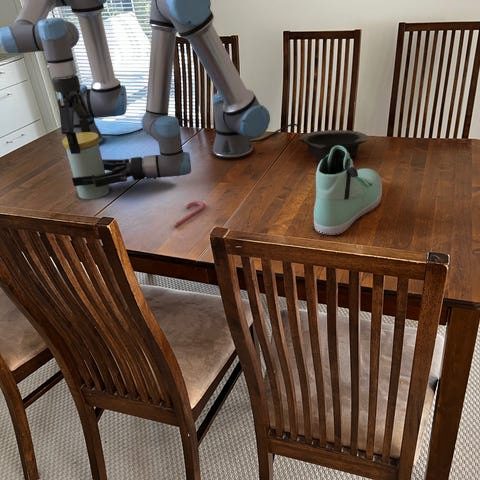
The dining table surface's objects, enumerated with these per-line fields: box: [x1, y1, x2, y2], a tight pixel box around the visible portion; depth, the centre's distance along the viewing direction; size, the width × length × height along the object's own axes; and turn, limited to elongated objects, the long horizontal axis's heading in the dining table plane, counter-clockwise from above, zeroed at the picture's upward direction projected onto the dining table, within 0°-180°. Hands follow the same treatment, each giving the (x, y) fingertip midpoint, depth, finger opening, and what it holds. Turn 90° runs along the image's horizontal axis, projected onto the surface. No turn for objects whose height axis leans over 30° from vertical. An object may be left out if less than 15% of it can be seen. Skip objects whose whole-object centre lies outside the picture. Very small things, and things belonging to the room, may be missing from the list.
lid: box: [61, 132, 99, 149], centre depth 151 cm, size 11×11×2 cm
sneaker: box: [313, 146, 383, 236], centre depth 133 cm, size 14×35×20 cm, turn 152°
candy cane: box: [173, 200, 207, 229], centre depth 142 cm, size 6×15×2 cm, turn 145°
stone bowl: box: [297, 129, 371, 164], centre depth 171 cm, size 25×25×9 cm
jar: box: [65, 143, 110, 200], centre depth 156 cm, size 10×10×18 cm
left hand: (82, 146), depth 152 cm, fingers open, 12 cm apart
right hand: (76, 175), depth 157 cm, fingers closed on jar, 10 cm apart
